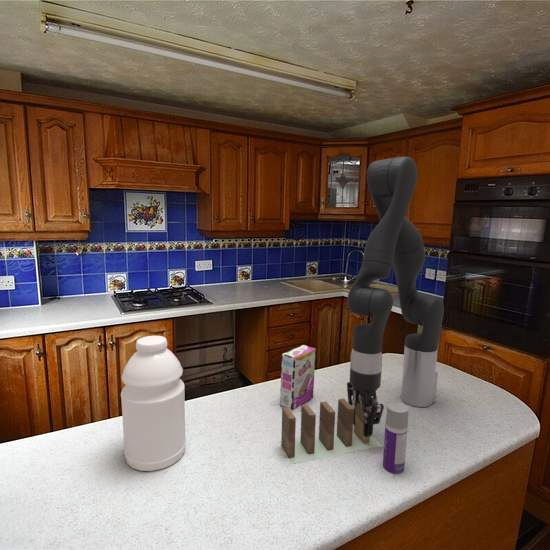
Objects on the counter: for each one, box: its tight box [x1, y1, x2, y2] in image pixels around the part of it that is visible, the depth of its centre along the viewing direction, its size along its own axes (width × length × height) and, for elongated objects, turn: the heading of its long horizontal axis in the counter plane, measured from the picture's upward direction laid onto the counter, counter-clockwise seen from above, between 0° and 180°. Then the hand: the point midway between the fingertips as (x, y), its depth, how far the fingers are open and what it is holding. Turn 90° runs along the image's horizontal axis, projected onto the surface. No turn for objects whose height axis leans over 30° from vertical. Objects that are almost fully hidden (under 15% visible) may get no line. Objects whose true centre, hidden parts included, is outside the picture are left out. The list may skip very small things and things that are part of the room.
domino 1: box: [280, 407, 297, 458], centre depth 88 cm, size 2×5×10 cm, turn 18°
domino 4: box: [336, 398, 354, 447], centre depth 93 cm, size 2×5×10 cm, turn 18°
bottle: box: [120, 335, 187, 472], centre depth 86 cm, size 14×14×28 cm
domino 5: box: [353, 401, 372, 443], centre depth 94 cm, size 2×5×10 cm, turn 18°
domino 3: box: [318, 400, 336, 451], centre depth 91 cm, size 2×5×10 cm, turn 18°
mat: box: [277, 427, 382, 465], centre depth 93 cm, size 24×9×1 cm, turn 108°
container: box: [382, 401, 409, 475], centre depth 83 cm, size 5×5×15 cm
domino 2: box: [299, 403, 317, 455], centre depth 90 cm, size 2×5×10 cm, turn 18°
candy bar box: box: [279, 344, 317, 411], centre depth 112 cm, size 11×5×16 cm, turn 141°
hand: (362, 429), depth 95 cm, fingers closed on domino 5, 4 cm apart
